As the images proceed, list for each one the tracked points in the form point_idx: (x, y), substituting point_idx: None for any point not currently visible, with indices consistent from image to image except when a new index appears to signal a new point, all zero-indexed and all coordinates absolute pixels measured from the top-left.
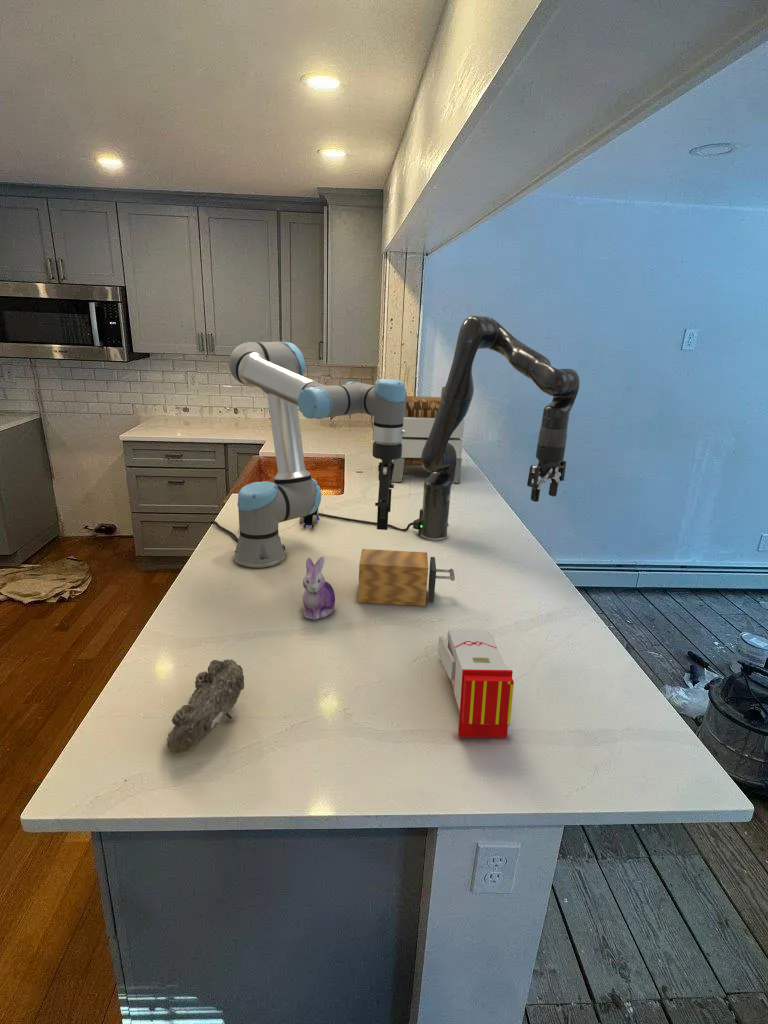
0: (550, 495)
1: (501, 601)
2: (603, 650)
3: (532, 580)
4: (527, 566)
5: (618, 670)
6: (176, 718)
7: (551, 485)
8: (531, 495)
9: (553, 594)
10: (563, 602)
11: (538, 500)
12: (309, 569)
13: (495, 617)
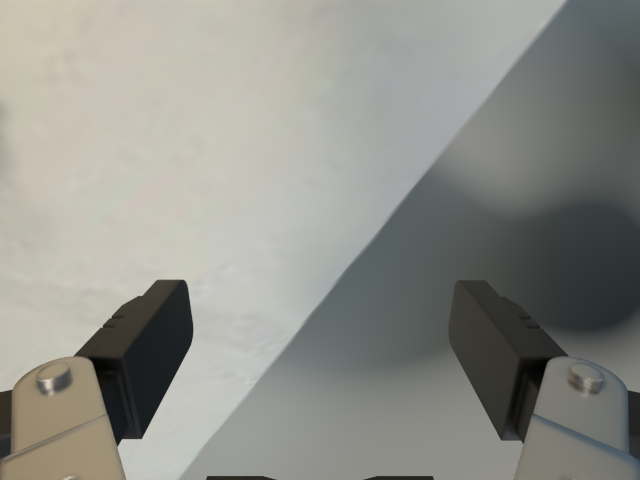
0: (454, 296)
1: (127, 205)
2: (179, 436)
3: (311, 176)
4: (389, 97)
5: (150, 473)
6: None
7: (501, 357)
8: (112, 322)
9: (288, 262)
10: (273, 300)
11: (189, 344)
12: None
13: (55, 250)
